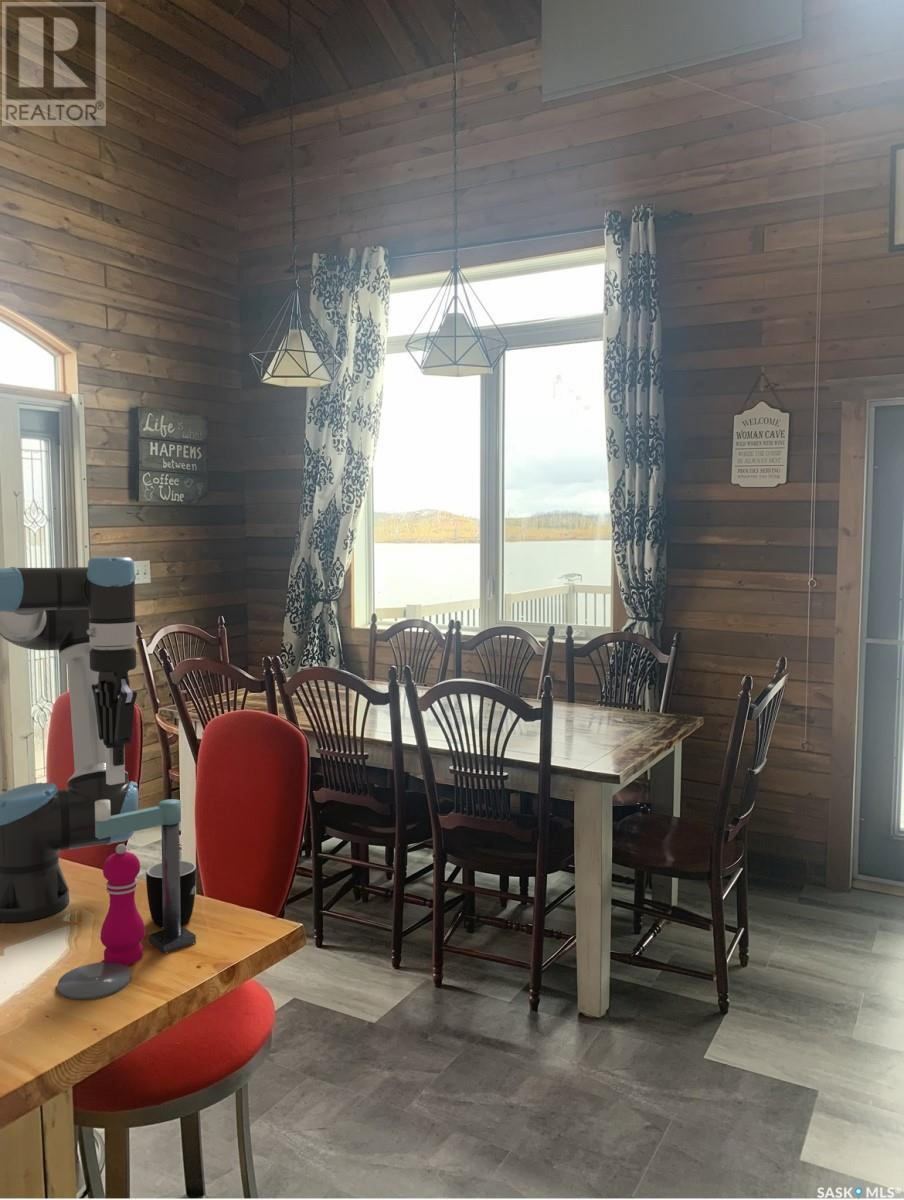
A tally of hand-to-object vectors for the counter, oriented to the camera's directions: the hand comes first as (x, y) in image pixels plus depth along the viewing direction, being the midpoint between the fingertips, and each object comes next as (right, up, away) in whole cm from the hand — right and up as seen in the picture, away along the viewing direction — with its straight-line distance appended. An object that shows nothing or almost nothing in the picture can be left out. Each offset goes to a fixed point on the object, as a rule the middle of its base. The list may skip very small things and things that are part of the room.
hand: (115, 782), depth 158 cm
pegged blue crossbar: (+4, -8, 0) cm, 9 cm away
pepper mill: (+2, -30, -1) cm, 30 cm away
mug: (+5, -29, +16) cm, 33 cm away
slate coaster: (0, -30, -10) cm, 32 cm away
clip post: (+8, -30, +5) cm, 31 cm away
